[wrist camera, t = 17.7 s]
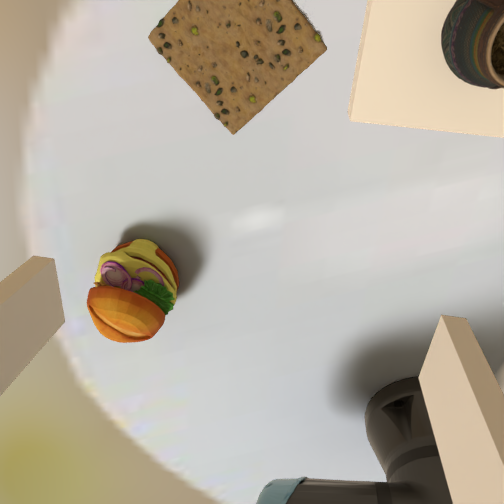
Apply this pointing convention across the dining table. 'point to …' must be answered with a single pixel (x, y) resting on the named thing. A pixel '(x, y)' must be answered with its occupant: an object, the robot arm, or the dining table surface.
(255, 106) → the cookie
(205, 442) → the dining table surface
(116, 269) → the cheeseburger
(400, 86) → the cream square slab
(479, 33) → the mate gourd
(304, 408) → the dining table surface
